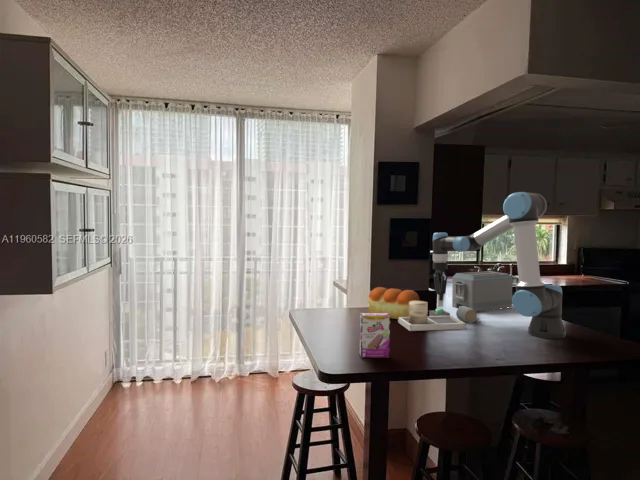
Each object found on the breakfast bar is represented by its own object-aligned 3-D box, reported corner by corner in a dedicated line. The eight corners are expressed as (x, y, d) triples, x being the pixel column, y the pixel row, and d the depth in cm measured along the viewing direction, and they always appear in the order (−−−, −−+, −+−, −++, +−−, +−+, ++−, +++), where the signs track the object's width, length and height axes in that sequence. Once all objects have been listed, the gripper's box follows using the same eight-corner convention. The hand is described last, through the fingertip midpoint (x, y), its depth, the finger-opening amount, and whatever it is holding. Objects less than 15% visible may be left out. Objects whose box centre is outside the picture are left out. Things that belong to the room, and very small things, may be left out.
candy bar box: (360, 358, 164) (361, 315, 163) (359, 354, 169) (359, 312, 168) (390, 358, 164) (390, 315, 163) (387, 354, 169) (388, 312, 168)
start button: (444, 317, 228) (444, 310, 227) (437, 317, 227) (437, 310, 227) (441, 315, 232) (441, 308, 231) (434, 316, 231) (434, 308, 231)
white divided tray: (465, 328, 208) (465, 323, 208) (409, 331, 204) (409, 325, 204) (450, 320, 224) (450, 315, 224) (398, 322, 220) (398, 317, 220)
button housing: (449, 319, 226) (449, 313, 226) (435, 320, 225) (435, 313, 225) (443, 316, 234) (443, 310, 234) (429, 317, 233) (429, 310, 233)
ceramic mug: (465, 324, 217) (466, 308, 217) (455, 320, 225) (456, 305, 225) (483, 322, 220) (483, 308, 220) (472, 319, 228) (473, 304, 228)
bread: (419, 317, 234) (420, 289, 233) (410, 321, 224) (410, 293, 223) (378, 311, 248) (378, 285, 247) (367, 315, 238) (367, 288, 237)
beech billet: (430, 324, 209) (430, 303, 209) (412, 324, 208) (412, 304, 208) (423, 320, 218) (423, 300, 218) (406, 320, 217) (406, 300, 217)
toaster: (446, 307, 259) (446, 273, 258) (489, 303, 272) (490, 270, 271) (468, 313, 242) (468, 277, 241) (512, 308, 255) (513, 274, 254)
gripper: (452, 262, 222) (452, 308, 223) (441, 260, 235) (441, 303, 236) (438, 263, 221) (438, 308, 222) (428, 260, 234) (428, 304, 235)
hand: (440, 306), depth 229 cm, fingers closed
